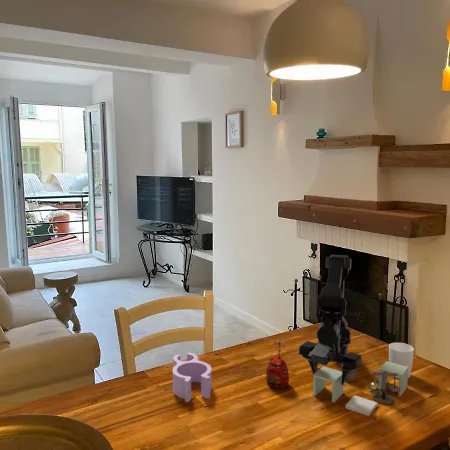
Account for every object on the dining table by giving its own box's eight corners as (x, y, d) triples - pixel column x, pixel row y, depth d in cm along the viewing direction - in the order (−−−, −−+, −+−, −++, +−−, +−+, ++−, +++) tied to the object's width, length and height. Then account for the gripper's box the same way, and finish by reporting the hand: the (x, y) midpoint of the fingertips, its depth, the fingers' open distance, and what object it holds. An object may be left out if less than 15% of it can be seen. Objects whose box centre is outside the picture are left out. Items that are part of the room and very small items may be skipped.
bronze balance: (366, 397, 140) (368, 368, 139) (370, 393, 143) (372, 364, 142) (397, 407, 135) (398, 376, 133) (400, 402, 137) (402, 372, 136)
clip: (165, 375, 156) (165, 355, 155) (200, 369, 159) (200, 351, 159) (178, 404, 137) (177, 382, 136) (217, 397, 141) (217, 376, 140)
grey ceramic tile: (345, 408, 134) (345, 405, 134) (354, 398, 140) (354, 395, 139) (368, 416, 130) (368, 412, 130) (377, 405, 135) (377, 402, 135)
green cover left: (313, 395, 142) (313, 374, 141) (322, 386, 147) (323, 366, 146) (334, 402, 137) (334, 380, 136) (343, 393, 143) (344, 372, 142)
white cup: (408, 370, 159) (409, 342, 157) (415, 380, 151) (417, 352, 149) (385, 369, 159) (386, 342, 158) (390, 379, 152) (392, 351, 150)
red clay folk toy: (262, 386, 147) (263, 342, 145) (270, 377, 153) (271, 335, 151) (285, 391, 144) (285, 346, 142) (292, 382, 150) (293, 339, 148)
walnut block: (340, 379, 152) (341, 365, 152) (345, 374, 155) (345, 360, 155) (352, 382, 150) (352, 368, 149) (356, 377, 153) (357, 363, 152)
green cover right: (378, 389, 145) (379, 368, 144) (385, 381, 151) (386, 361, 150) (400, 396, 141) (401, 375, 140) (407, 387, 146) (408, 366, 145)
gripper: (290, 333, 138) (289, 381, 141) (349, 348, 127) (347, 400, 129) (307, 323, 147) (306, 368, 149) (363, 336, 136) (361, 385, 138)
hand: (328, 380), depth 141 cm, fingers open, 9 cm apart
